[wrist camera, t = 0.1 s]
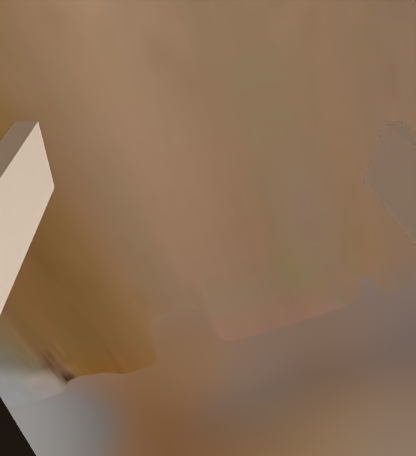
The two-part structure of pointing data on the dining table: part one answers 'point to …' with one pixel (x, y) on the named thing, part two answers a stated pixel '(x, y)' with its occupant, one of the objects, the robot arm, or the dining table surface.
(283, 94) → the dining table surface
